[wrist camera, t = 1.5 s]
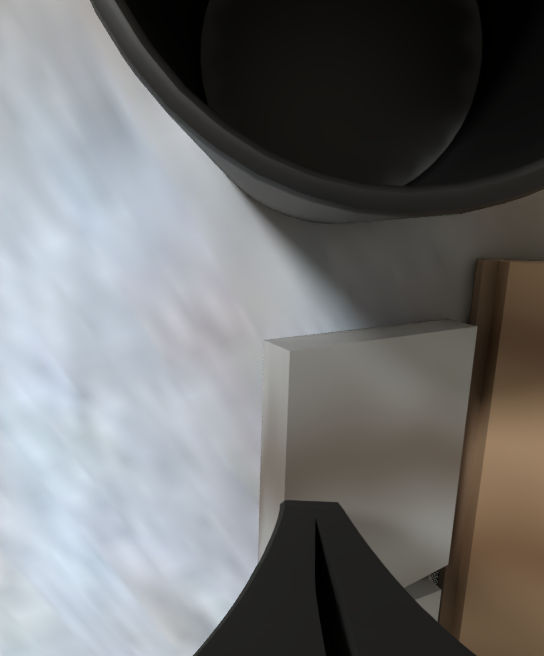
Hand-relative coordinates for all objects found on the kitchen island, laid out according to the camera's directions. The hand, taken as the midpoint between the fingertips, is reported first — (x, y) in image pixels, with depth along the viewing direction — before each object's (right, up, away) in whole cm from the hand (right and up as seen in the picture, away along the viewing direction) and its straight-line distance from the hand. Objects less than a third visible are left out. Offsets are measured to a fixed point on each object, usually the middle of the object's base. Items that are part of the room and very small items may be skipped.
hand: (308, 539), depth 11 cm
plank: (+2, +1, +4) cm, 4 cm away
